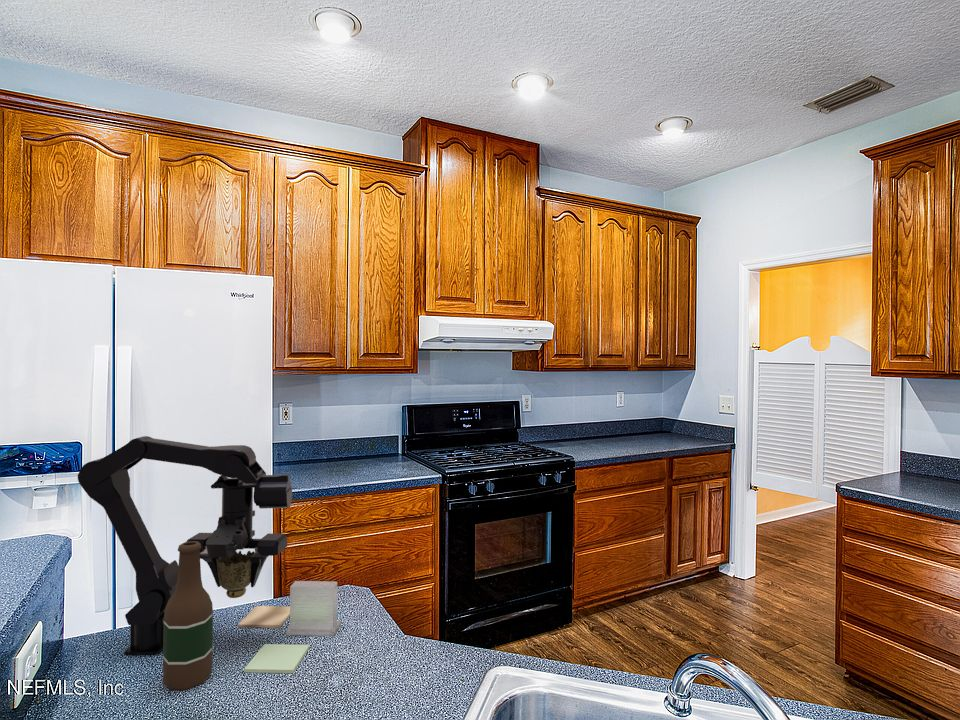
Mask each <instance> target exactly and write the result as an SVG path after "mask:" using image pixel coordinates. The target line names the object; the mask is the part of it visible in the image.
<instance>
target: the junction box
mask: <svg viewBox="0 0 960 720" xmlns="http://www.w3.org/2000/svg"><path fill="white" fill-rule="evenodd" d="M289 588H290V589H289V592H290V593H289V607H290V616H289V627H288V629H287V630H286V631H285V632H286V636H316V637H317V636H318V637H321V636H322V637H323V636H326V637H330V636H331V637H334V636H336V634H337V632H338V630H339V629H340V627H341V626H342V620H338V581H332V580H331V581H325V580H323V581H320V580H319V581H318V580H295V581H294V582H293V583H292V584H291V585H290V587H289Z"/></svg>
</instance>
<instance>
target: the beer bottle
mask: <svg viewBox="0 0 960 720" xmlns="http://www.w3.org/2000/svg"><path fill="white" fill-rule="evenodd" d="M201 548H202V547H201V544H200V543H199V542H197V541H189V542H186V541H185V542H183V543H181V544H179V545H178V548H177V552H179V555H178V557H179V558H178V577H177V585H176V589H175V592H174V593H173V595H172V596H171V598H170V599H169V600H168V603H167V605H166V608H165V612H164V627H163V649H162V682H163V683H164V685H165V686H166V687H167V689H168V690H169V691H187V690H189V689H192V688H194V687H197V686H200V685H202V684H204V683H205V682H206V680H207V679H208V678H209V677H210V676H211V674H212V669H213V643H214V642H213V637H214V634H213V632H214V629H213V627H214V625H213V624H214V623H213V622H214V609H213V602H212V599H211V596H210V594H209V593H208V592H207V591H206V589H205V588H204V586H203V581H202V571H201V568H202V567H201V559H200V549H201Z"/></svg>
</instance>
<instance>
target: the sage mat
mask: <svg viewBox="0 0 960 720" xmlns="http://www.w3.org/2000/svg"><path fill="white" fill-rule="evenodd" d="M310 649H311V647H310V644H278V643H277V644H274V643H273V644H271V643H269V644H268V643H264V644H263V645H262V646H261V647H260V649H259V650H258V652H257V653H256V654H255V655H254V656H253V658H252V659H251V660H250V661H249V663H248V664H247V665H246V666H245V668H243V673H255V674H256V673H257V674H258V673H259V674H262V673H263V674H264V673H265V674H294V673H295V672H296V670H297V668H298V667H299V665H300V663H301V662H302V660H303V659H304V657H305V656H306V655H307V653H308V651H309V650H310Z"/></svg>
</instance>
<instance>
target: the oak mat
mask: <svg viewBox="0 0 960 720" xmlns="http://www.w3.org/2000/svg"><path fill="white" fill-rule="evenodd" d="M289 618H290V606H281V605H280V606H278V605H277V606H274V605H273V606H269V605H268V606H267V605H263V606H262V605H257V606H256V605H255V607H253V609H252V610H250V611H249V613H248V614H247V615H245V616H244V617H243V619H241V621H240V622H238V624H237V628H251V627H261V628H262V629H263V628H264V629H266V628H267V629H269V628H270V629H280V628H281V627H282V626H283V625H284V624H285V623H286V621H287V619H289Z"/></svg>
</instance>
